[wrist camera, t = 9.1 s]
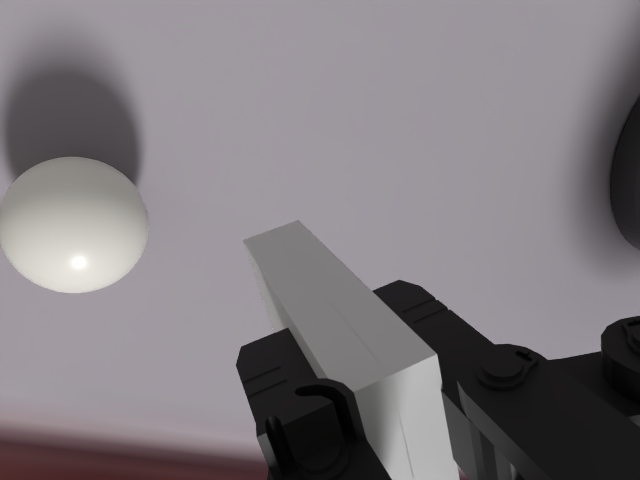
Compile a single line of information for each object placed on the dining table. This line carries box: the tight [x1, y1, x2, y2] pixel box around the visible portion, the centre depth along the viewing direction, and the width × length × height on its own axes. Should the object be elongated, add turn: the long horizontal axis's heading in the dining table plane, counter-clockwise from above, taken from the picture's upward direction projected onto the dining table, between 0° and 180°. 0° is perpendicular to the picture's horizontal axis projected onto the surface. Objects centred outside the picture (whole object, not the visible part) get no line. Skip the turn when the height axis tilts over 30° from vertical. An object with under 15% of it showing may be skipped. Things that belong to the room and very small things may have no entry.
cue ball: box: [0, 157, 149, 293], centre depth 21 cm, size 6×6×6 cm
